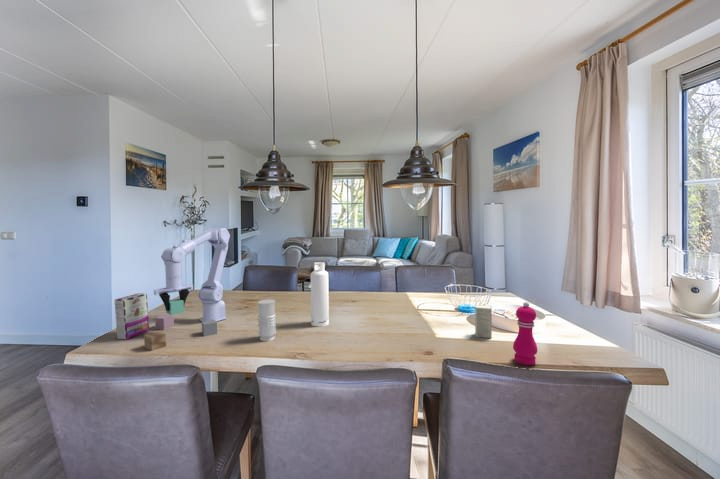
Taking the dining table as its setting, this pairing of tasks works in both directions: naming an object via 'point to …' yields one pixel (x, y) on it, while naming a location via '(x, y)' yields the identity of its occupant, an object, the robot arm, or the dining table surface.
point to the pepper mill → (525, 336)
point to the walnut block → (155, 340)
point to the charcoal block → (209, 327)
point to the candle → (267, 320)
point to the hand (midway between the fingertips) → (175, 309)
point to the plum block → (164, 322)
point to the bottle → (319, 295)
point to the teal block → (176, 306)
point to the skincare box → (483, 321)
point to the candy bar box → (131, 316)
